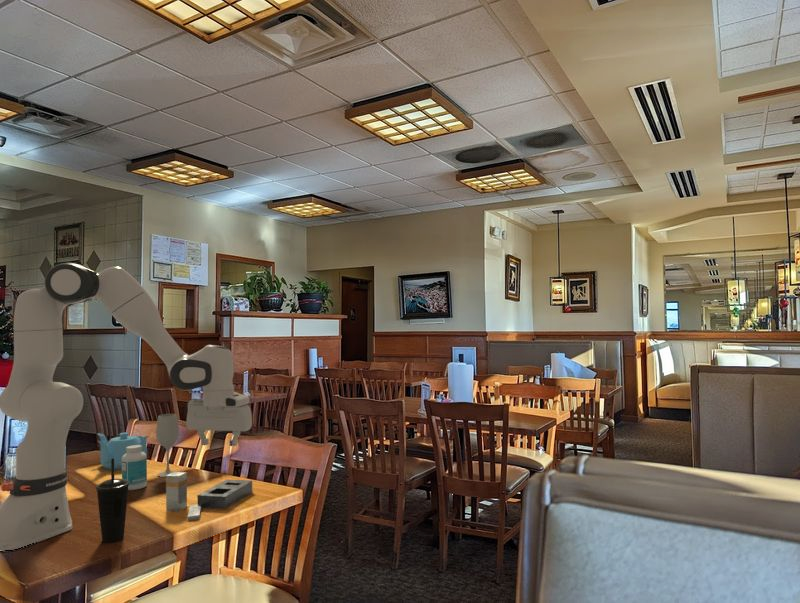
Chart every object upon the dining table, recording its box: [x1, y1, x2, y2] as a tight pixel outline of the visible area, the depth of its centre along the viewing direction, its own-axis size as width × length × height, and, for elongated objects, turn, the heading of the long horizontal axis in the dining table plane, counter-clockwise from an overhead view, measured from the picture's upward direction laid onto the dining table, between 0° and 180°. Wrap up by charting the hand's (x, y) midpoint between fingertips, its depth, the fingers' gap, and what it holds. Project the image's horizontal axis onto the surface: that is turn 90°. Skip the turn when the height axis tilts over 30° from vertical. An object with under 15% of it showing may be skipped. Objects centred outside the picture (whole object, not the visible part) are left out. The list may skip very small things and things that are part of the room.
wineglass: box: [155, 413, 180, 478], centre depth 199 cm, size 8×8×21 cm
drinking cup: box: [95, 459, 130, 544], centre depth 140 cm, size 8×8×20 cm
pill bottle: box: [121, 445, 148, 491], centre depth 183 cm, size 8×7×14 cm
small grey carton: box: [165, 471, 188, 512], centre depth 162 cm, size 4×4×10 cm
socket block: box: [197, 479, 253, 510], centre depth 169 cm, size 16×9×4 cm, turn 167°
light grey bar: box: [187, 503, 202, 522], centre depth 157 cm, size 10×3×2 cm, turn 17°
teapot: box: [97, 432, 149, 471], centre depth 213 cm, size 17×19×12 cm
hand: (219, 445), depth 166 cm, fingers open, 8 cm apart
